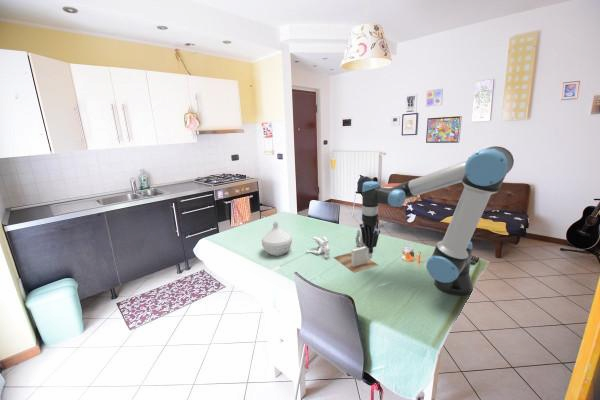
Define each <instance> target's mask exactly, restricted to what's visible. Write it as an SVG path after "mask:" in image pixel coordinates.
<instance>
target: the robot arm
mask: <svg viewBox="0 0 600 400" xmlns="http://www.w3.org/2000/svg"><path fill="white" fill-rule="evenodd" d="M514 164H515V163H514V155H513V154H512V152H510V150H509V149H507V148H505V147H502V146H497V145H495V146H490V147H486V148H482V149H479V150H477V151H475V152H473V154H472V155H470V156H468V157H467V160H465V161H463V162H459V163H457V164H454V165H451V166H448V167H445V168H443V169H442V168H441V169H439V170H437V171H436V170H435V171H433V172H431V173H428V174H425V175H421V176H420V177H417V178H413V179H411V180H408V181H406V182H405V181H404V182H402V183H399V184H397V185H395V186H392V187H389V188H387V187H380V184H379V182H378V181H372V180H370V181H365V182H363V184H362V190H361V193H362V194H361V197H362V199H361V200H362V201H361V202H362V203H361V204H362V205H361V221H362V223H360V224H359V228H360V233H361V234H362V241H363V243H364V244H365V246H366V259H370V260H372V259H373V253H374V248H377V246H378V245H377V244H378V240H379V235H380V234H381V230H379V229H378V225H377V223H378V222H379V205H385V206H391V207H394V208H395V207H398V208H400V207H403V205H404V204H405V202H406V199H410V198H413V197H416V196H420V195H424V194H425V193H429V192H433V191H436V190H440V189H443V188H446V187H450V186H452V185H457V184H459V183H462V184H463V186H464V187H463V190H462V192H461V194H460V197H459V200H458V203H457V205H456V208H455V209H454V212H453V215H452V217H451V219H450V222H449V224H448V227H447V229H446V232H445V233H444V234H445V235H444V237H443V238H442V240H440V241H437V243H436V244H435V248H434V250H433V252H432V255H431V256H430V257H429V258H428V259H427V261H426V269H427V270H426V271H427V272H428V273H429V276H431V277H432V278H433V279H434V281H433V282H434V286H435V287H436V288H437V289H438V290H441V292H444V293H447V294H449V295H453V296H465V295H469V294H470V293H472V291H473V283H472V279H471V276H470V268H471V262H472V254H473V242H472V241H471V239H472V238H473V235H474V232H475V231H476V228H477V227H478V225H479V222H480V221H481V218H482V216H483V214H484V211H485V209H486V207H487V205H488V203H489V200H490V198H491V196H492V195H494V194H497V193H499V191H500V190H501V189H500V188H501V186H502V184H503V182H504V180H505V178H506V176H507V174H509V172H511V170H512V169H513V167H514Z"/></svg>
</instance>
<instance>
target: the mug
mask: <svg viewBox="0 0 600 400" xmlns="http://www.w3.org/2000/svg"><path fill="white" fill-rule="evenodd" d="M359 238H360V239H359ZM355 244H356V246H357V247H358V248H361V247H364V246H365V244H364V243H363V241H362V233H361V229H357V232H356V237H355Z"/></svg>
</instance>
